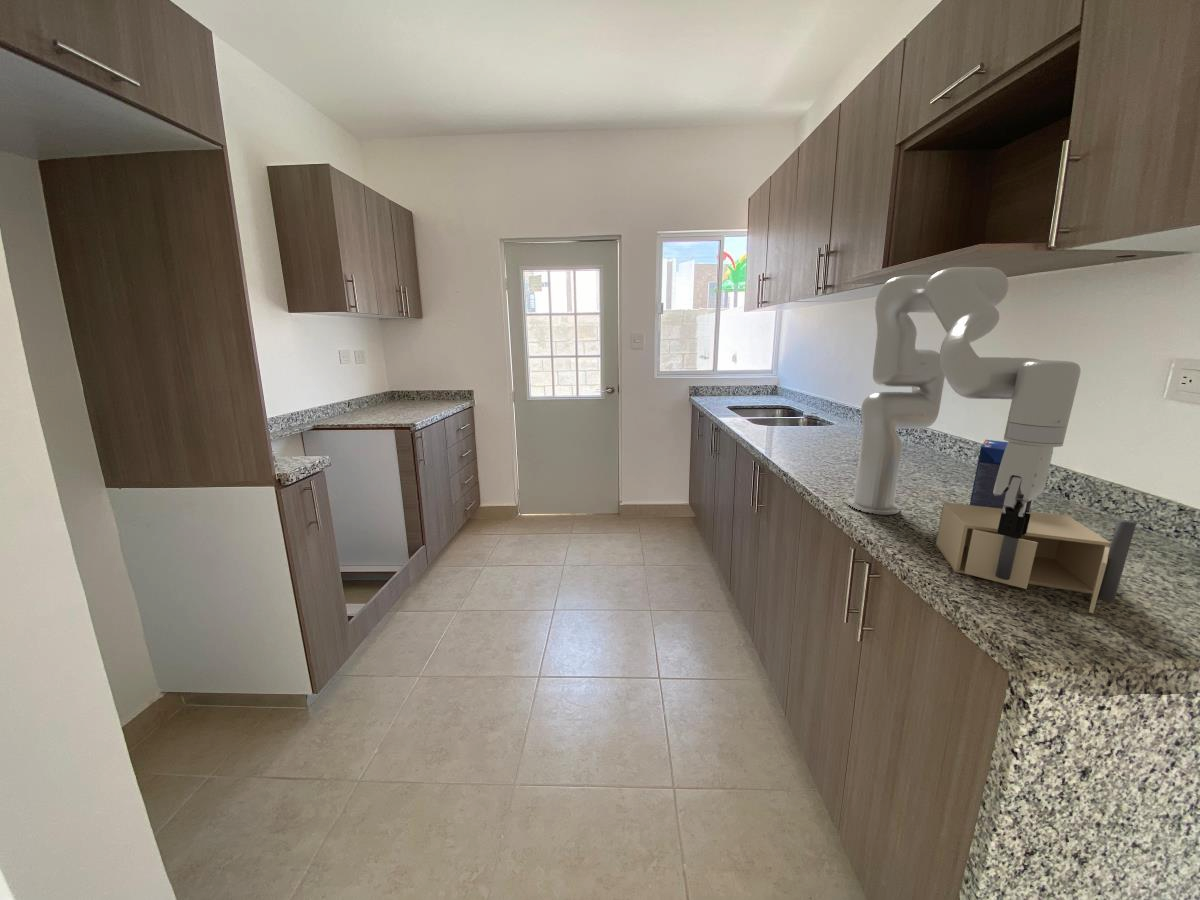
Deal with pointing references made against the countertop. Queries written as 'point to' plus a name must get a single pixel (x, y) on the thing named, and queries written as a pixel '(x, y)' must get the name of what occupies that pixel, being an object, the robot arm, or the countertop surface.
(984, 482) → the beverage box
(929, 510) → the countertop surface
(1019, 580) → the flap
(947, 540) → the wooden cabinet
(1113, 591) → the flap
